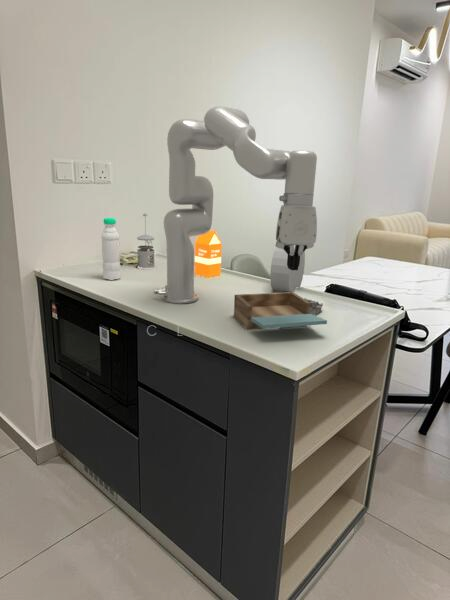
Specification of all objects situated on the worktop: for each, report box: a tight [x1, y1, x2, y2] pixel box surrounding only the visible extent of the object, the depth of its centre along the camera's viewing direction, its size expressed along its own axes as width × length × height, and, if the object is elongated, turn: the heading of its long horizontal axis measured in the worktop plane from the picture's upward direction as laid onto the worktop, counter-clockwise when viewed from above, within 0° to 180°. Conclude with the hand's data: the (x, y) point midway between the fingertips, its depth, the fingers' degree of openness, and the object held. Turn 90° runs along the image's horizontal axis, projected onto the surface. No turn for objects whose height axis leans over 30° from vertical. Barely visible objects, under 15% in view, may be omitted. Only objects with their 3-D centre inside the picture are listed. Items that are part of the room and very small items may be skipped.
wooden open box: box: [233, 291, 311, 330], centre depth 138 cm, size 20×13×7 cm, turn 107°
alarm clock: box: [270, 244, 306, 293], centre depth 176 cm, size 21×8×20 cm, turn 155°
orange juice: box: [194, 229, 223, 279], centre depth 193 cm, size 8×9×20 cm
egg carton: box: [303, 298, 324, 316], centre depth 148 cm, size 11×8×4 cm
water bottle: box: [100, 217, 122, 279], centre depth 181 cm, size 7×7×25 cm
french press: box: [136, 212, 156, 268], centre depth 206 cm, size 10×12×25 cm
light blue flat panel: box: [251, 314, 328, 330], centre depth 126 cm, size 19×2×10 cm
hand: (292, 269), depth 121 cm, fingers closed
